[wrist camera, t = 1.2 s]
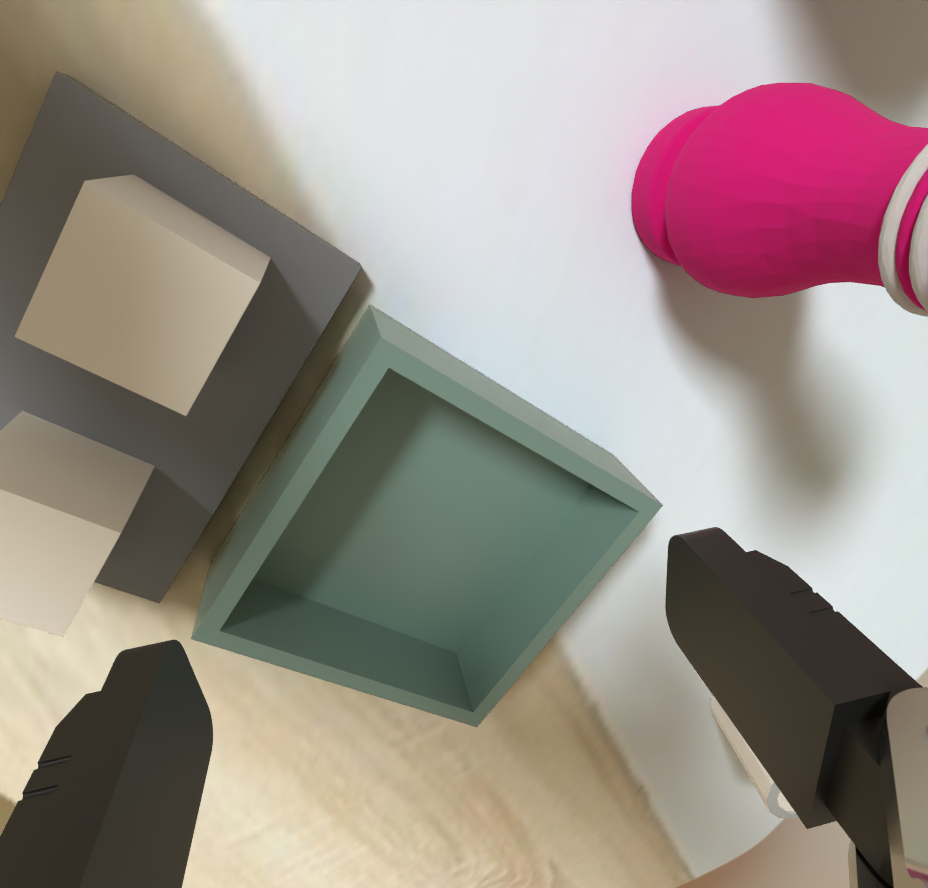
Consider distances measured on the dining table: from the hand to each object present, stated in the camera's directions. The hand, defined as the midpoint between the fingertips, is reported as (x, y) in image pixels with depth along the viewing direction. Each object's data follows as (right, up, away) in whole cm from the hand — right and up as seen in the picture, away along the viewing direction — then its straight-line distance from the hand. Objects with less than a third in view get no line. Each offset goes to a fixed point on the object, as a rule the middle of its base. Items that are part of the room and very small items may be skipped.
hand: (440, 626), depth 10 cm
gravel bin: (-2, 0, +20) cm, 20 cm away
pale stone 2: (-16, +1, +15) cm, 22 cm away
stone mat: (-13, +6, +14) cm, 20 cm away
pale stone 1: (-10, +9, +12) cm, 18 cm away
